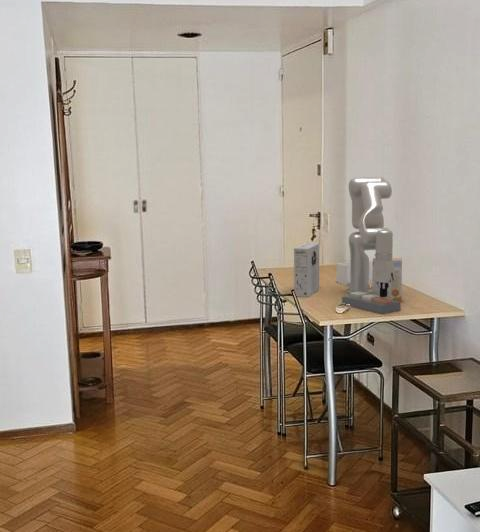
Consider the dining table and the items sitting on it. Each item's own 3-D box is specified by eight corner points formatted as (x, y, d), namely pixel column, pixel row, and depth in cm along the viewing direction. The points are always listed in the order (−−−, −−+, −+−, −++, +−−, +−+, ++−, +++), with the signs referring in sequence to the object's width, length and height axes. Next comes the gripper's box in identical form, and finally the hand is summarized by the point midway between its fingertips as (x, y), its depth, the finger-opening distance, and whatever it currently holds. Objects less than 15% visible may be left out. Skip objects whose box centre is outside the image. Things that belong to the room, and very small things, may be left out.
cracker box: (401, 300, 340) (402, 257, 336) (401, 302, 334) (402, 259, 330) (372, 299, 343) (372, 257, 339) (371, 301, 337) (372, 259, 334)
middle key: (361, 300, 326) (361, 295, 325) (370, 299, 329) (370, 294, 329) (370, 303, 321) (370, 297, 320) (379, 301, 324) (380, 296, 324)
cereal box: (305, 288, 373) (305, 242, 369) (319, 289, 370) (319, 242, 366) (294, 296, 353) (293, 247, 349) (308, 297, 350) (308, 248, 346)
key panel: (342, 304, 333) (342, 296, 332) (360, 301, 339) (360, 293, 339) (381, 314, 311) (381, 305, 311) (400, 310, 318) (400, 301, 318)
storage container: (375, 279, 397) (375, 260, 395) (386, 282, 387) (386, 262, 385) (336, 282, 388) (336, 263, 386) (346, 286, 378) (346, 266, 376)
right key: (373, 303, 319) (373, 298, 319) (383, 302, 323) (383, 296, 322) (383, 306, 314) (383, 300, 314) (392, 304, 318) (392, 298, 317)
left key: (349, 298, 332) (349, 293, 332) (358, 296, 336) (358, 291, 335) (358, 300, 327) (358, 295, 327) (367, 298, 331) (367, 293, 330)
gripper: (366, 256, 319) (365, 295, 322) (390, 259, 307) (389, 300, 310) (377, 254, 323) (377, 293, 326) (402, 258, 311) (401, 298, 314)
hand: (383, 296), depth 318 cm, fingers closed
